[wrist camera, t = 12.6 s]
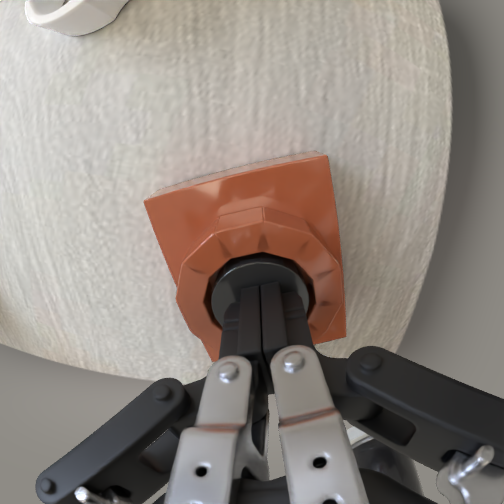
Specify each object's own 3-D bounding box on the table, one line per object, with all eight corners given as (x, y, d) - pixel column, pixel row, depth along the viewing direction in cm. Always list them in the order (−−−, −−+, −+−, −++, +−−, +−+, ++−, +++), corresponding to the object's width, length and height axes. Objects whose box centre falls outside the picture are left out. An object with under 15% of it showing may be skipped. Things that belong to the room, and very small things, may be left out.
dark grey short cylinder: (307, 307, 13) (314, 331, 12) (229, 323, 14) (227, 347, 12) (294, 233, 12) (301, 252, 10) (204, 254, 12) (197, 274, 10)
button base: (337, 313, 16) (355, 359, 13) (215, 337, 17) (208, 385, 14) (315, 150, 12) (341, 160, 9) (158, 189, 13) (125, 214, 9)
